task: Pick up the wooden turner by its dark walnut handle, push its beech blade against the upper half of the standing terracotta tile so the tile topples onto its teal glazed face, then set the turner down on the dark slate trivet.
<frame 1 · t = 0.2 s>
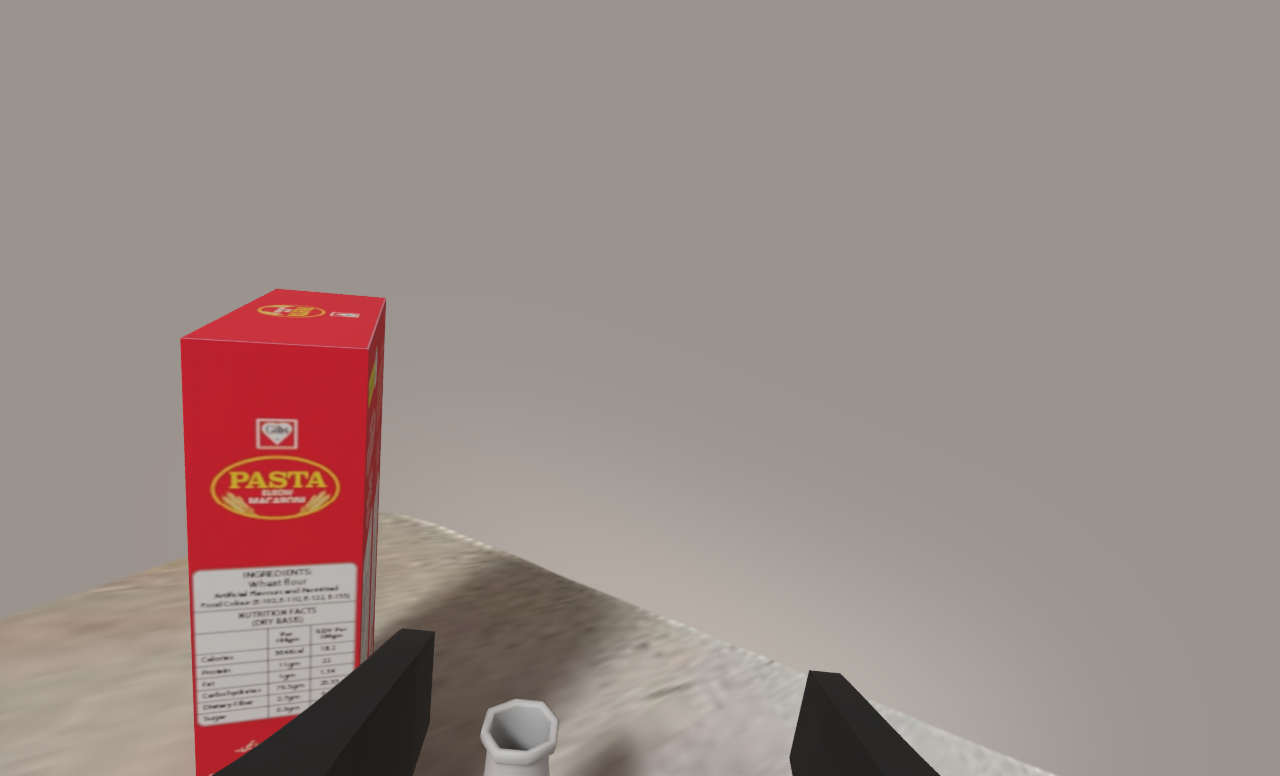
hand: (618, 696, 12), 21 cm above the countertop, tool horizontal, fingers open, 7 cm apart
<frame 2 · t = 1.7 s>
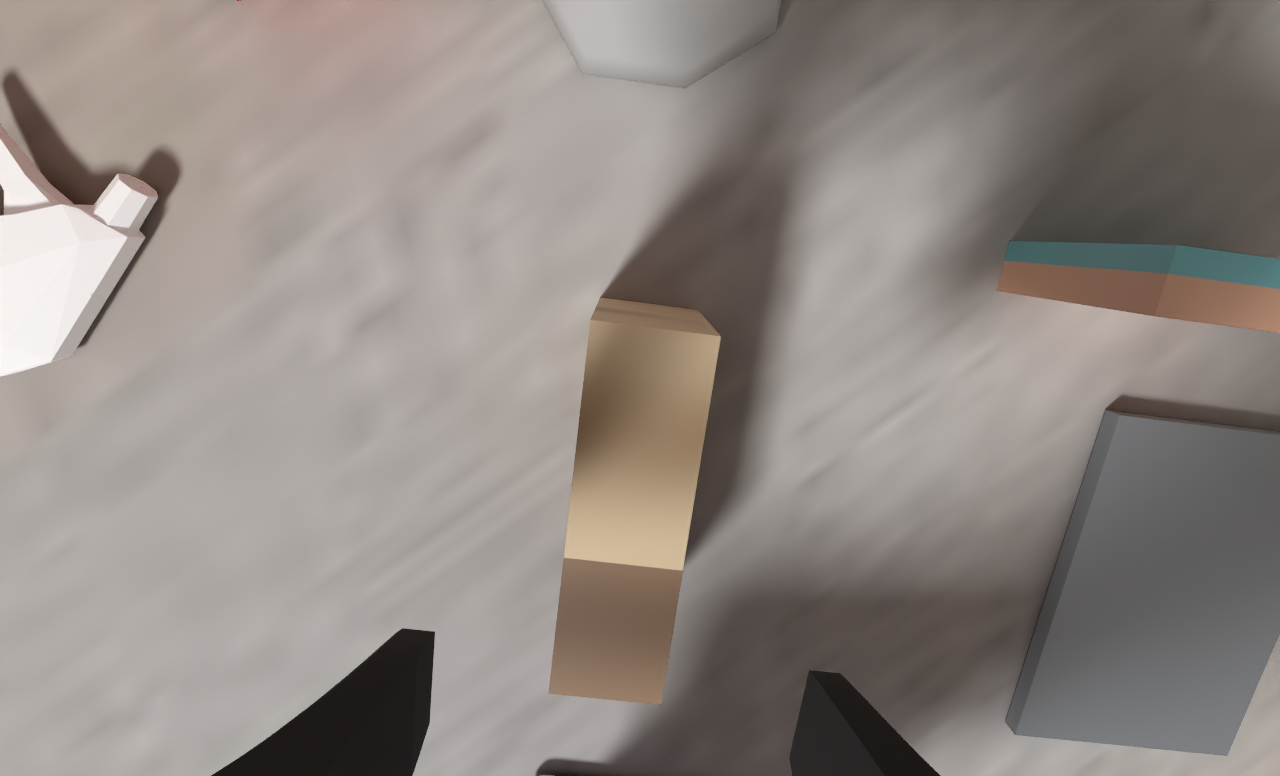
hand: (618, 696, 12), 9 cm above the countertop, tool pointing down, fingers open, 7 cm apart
tile: (1112, 280, 19), on the countertop
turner: (628, 457, 20), on the countertop
trivet: (1162, 588, 22), on the countertop
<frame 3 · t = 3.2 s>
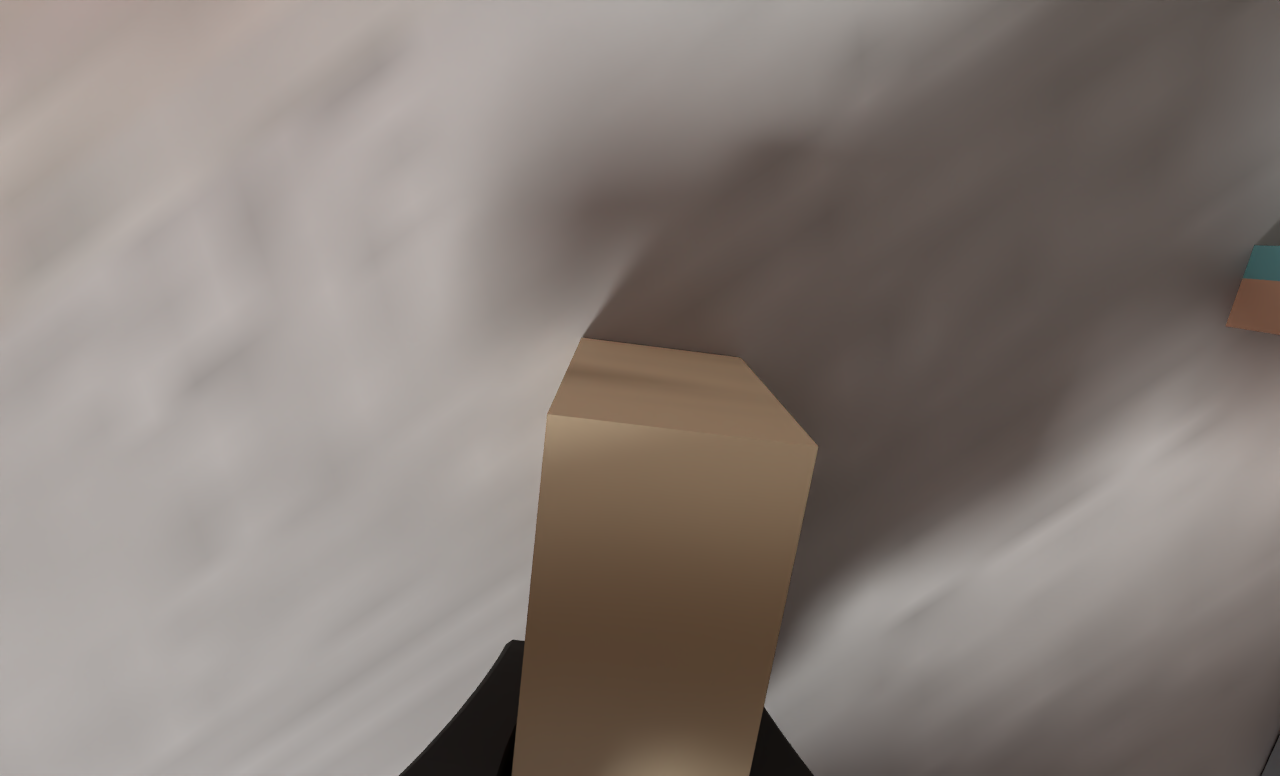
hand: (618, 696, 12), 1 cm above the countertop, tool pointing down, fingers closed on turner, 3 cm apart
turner: (628, 585, 13), on the countertop, touching gripper
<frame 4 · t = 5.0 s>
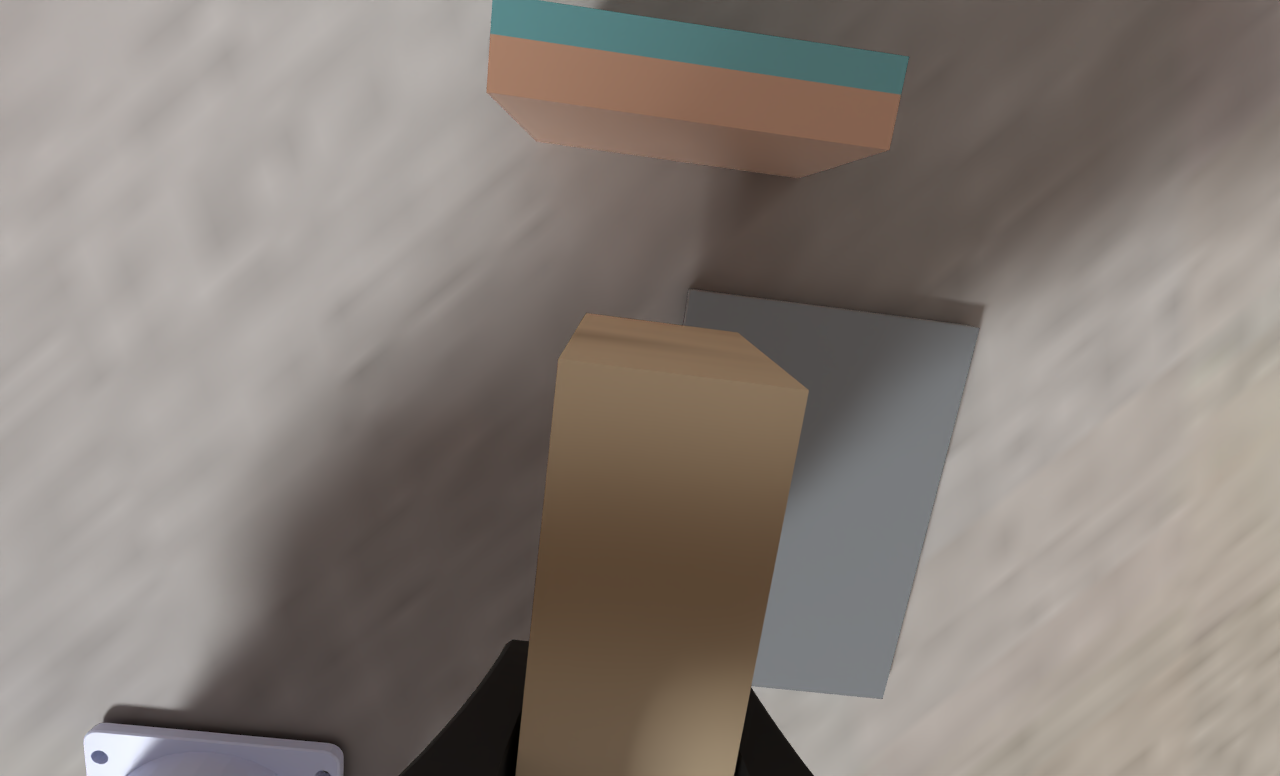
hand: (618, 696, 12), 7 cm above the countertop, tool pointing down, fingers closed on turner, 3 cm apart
tile: (673, 130, 16), on the countertop
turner: (630, 554, 13), point 5 cm above the countertop, touching gripper
trivet: (789, 504, 19), on the countertop
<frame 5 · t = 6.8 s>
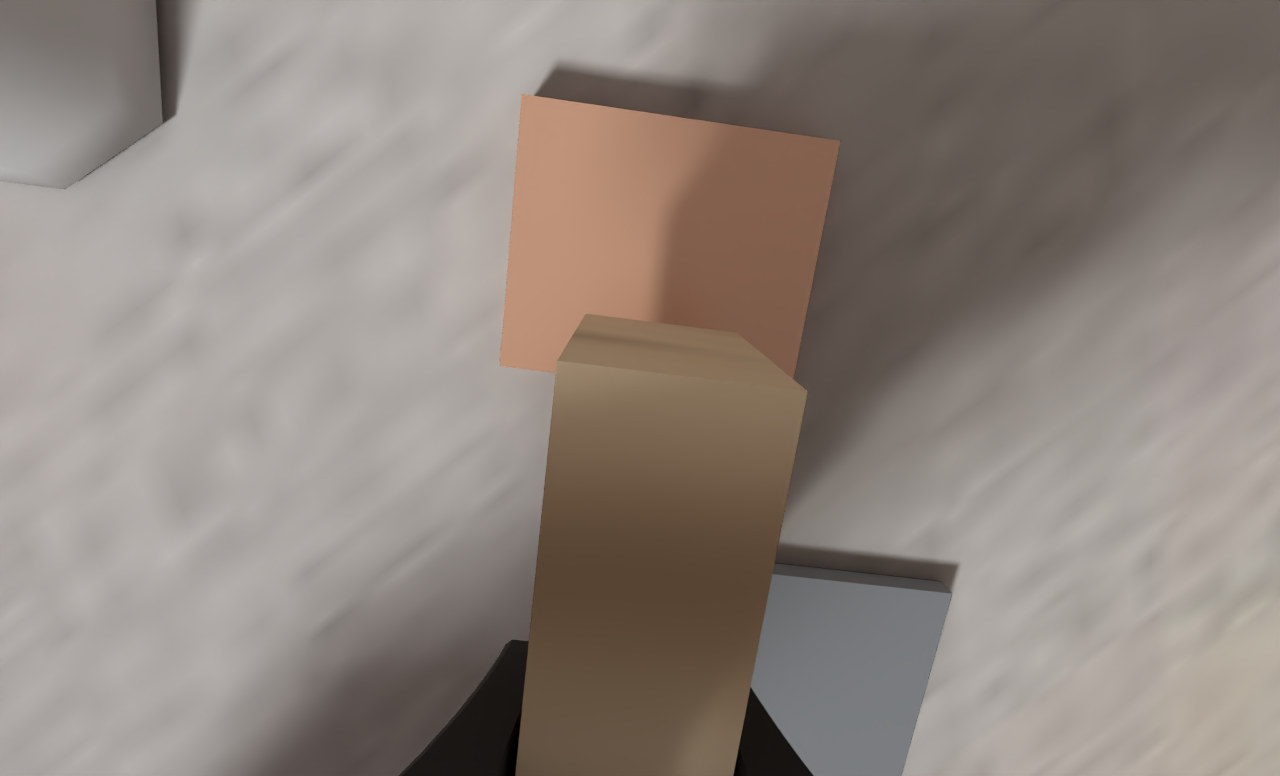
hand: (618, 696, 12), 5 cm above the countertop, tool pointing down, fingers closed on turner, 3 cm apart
tile: (645, 377, 16), on the countertop, tilted 90°
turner: (630, 554, 13), point 3 cm above the countertop, touching gripper
trivet: (763, 745, 19), on the countertop
flask: (16, 24, 14), on the countertop
when the fingers open (3 cm above the countertop, at t = 9.9 s): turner stays where it is, resting on trivet.
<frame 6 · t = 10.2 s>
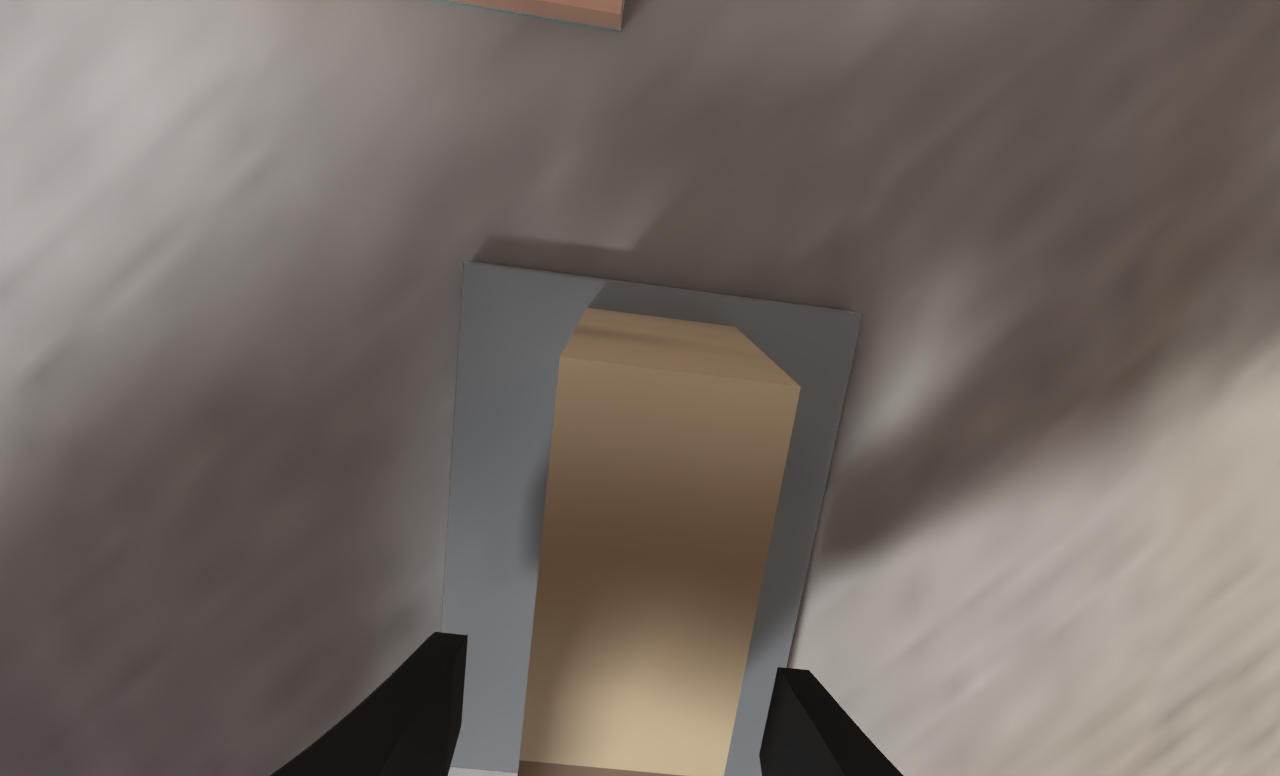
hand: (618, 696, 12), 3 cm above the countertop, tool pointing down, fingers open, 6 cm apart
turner: (630, 542, 14), point 1 cm above the countertop, touching trivet
trivet: (628, 547, 14), on the countertop
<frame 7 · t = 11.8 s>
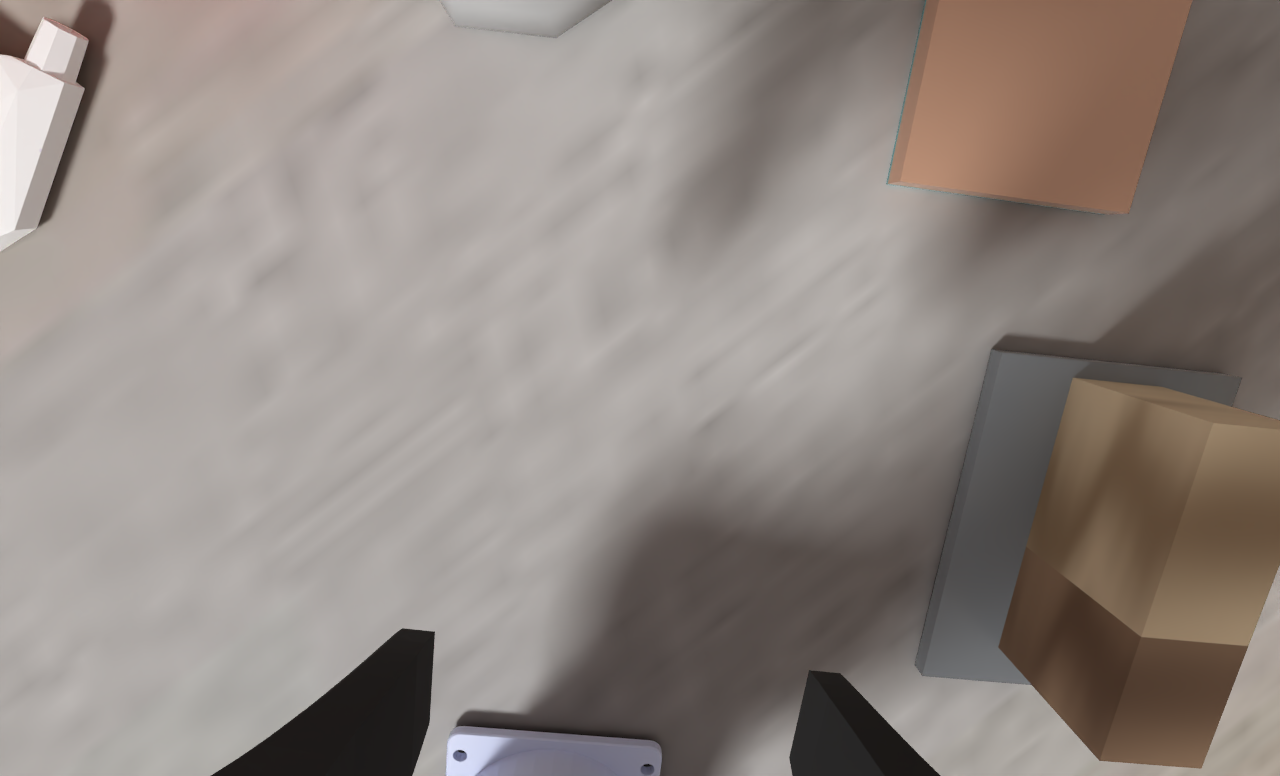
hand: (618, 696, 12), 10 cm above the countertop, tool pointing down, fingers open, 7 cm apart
tile: (1000, 199, 19), on the countertop, tilted 90°
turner: (1075, 523, 21), point 1 cm above the countertop, touching trivet
trivet: (1061, 527, 22), on the countertop
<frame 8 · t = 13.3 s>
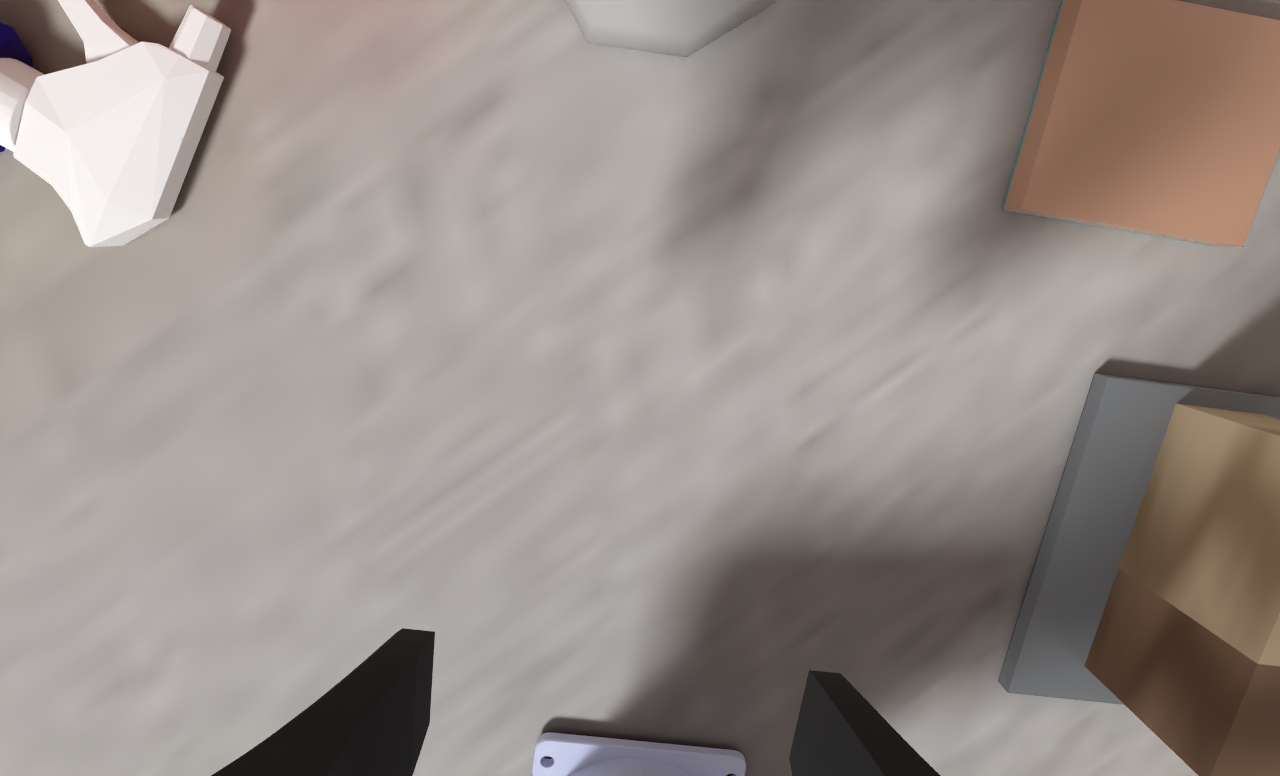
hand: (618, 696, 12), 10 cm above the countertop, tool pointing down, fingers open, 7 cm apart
tile: (1114, 228, 19), on the countertop, tilted 90°
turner: (1168, 546, 22), point 1 cm above the countertop, touching trivet
trivet: (1151, 549, 22), on the countertop
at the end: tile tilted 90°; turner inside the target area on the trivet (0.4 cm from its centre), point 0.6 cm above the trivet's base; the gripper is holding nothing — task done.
